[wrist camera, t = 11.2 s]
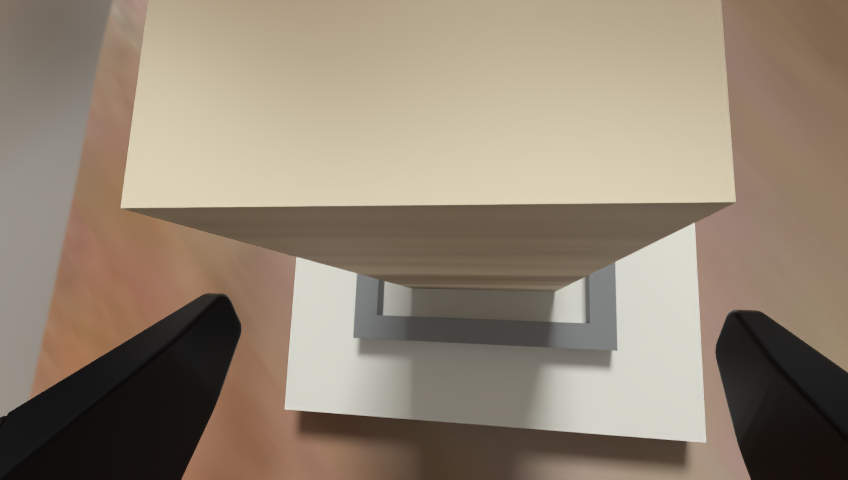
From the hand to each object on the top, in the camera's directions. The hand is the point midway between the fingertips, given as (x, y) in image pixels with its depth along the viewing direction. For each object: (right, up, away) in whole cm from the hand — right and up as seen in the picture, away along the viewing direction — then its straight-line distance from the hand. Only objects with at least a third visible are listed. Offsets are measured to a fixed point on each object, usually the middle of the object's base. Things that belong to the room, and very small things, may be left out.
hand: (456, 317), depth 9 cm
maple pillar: (+2, +2, +8) cm, 9 cm away
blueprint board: (+2, +2, +10) cm, 10 cm away
